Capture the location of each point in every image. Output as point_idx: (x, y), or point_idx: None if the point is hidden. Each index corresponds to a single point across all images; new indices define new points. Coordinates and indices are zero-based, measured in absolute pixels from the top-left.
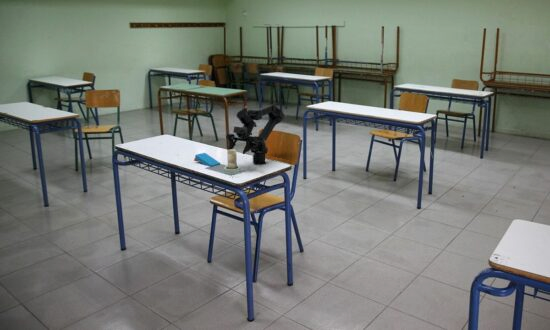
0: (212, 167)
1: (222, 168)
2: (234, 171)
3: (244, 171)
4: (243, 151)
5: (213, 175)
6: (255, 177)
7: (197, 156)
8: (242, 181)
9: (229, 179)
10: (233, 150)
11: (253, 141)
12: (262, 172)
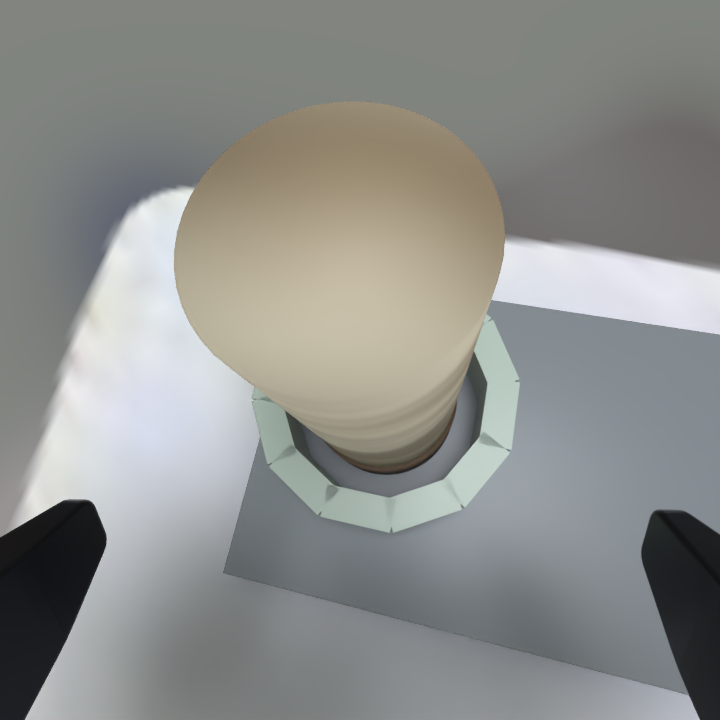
0: None
1: (648, 490)
2: None
3: (247, 521)
4: (24, 532)
5: (560, 253)
6: (55, 444)
7: None
8: (130, 251)
9: None
10: (272, 251)
11: None
12: (49, 715)
